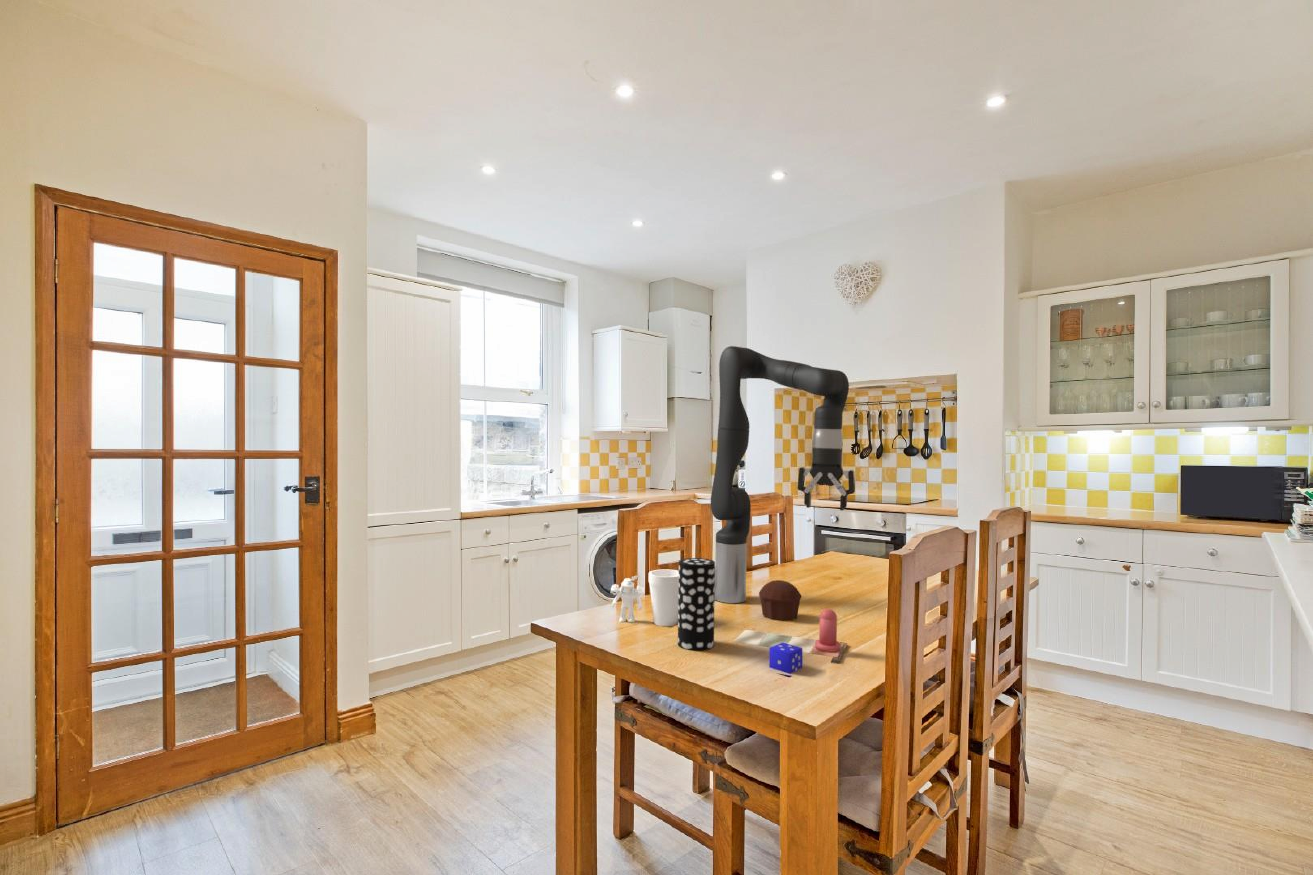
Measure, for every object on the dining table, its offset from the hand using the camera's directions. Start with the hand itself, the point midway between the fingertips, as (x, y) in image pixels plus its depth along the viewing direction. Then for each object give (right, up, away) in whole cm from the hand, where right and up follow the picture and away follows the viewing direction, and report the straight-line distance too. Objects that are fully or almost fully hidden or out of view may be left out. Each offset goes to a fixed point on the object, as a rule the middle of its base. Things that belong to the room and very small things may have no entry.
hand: (825, 508), depth 164 cm
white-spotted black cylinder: (-35, -30, -18) cm, 50 cm away
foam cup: (-41, -30, +1) cm, 51 cm away
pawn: (-5, -30, -20) cm, 36 cm away
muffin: (-11, -31, +6) cm, 33 cm away
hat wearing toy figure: (-52, -30, +2) cm, 60 cm away
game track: (-13, -30, -16) cm, 37 cm away
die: (-17, -31, -32) cm, 48 cm away
